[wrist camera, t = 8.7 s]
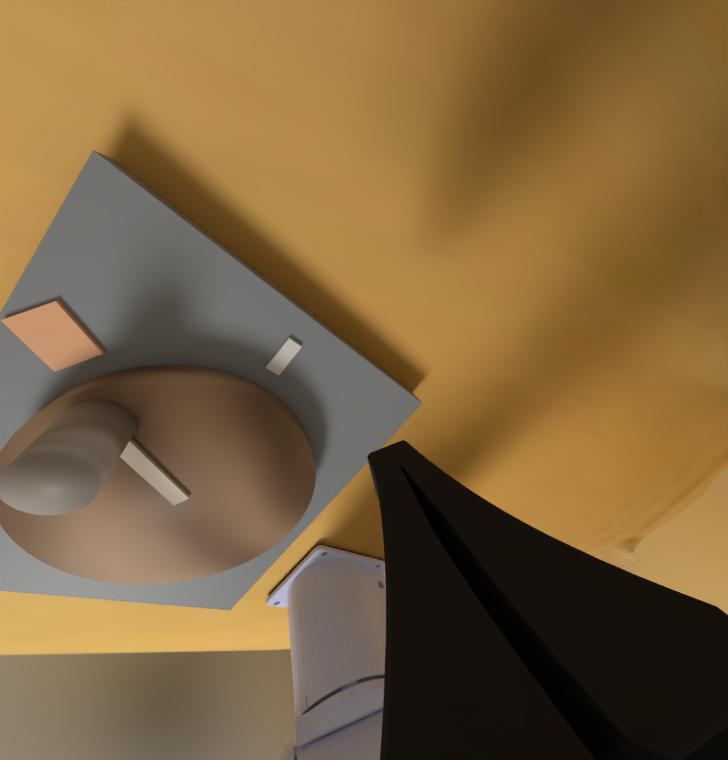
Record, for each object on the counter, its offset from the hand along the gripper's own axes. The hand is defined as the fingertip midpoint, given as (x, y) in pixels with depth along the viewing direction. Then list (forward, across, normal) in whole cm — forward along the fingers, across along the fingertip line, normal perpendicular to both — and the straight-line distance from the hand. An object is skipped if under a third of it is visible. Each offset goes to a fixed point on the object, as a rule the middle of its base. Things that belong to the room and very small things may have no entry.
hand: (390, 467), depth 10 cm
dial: (+8, +10, +4) cm, 13 cm away
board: (+9, +10, +4) cm, 14 cm away
